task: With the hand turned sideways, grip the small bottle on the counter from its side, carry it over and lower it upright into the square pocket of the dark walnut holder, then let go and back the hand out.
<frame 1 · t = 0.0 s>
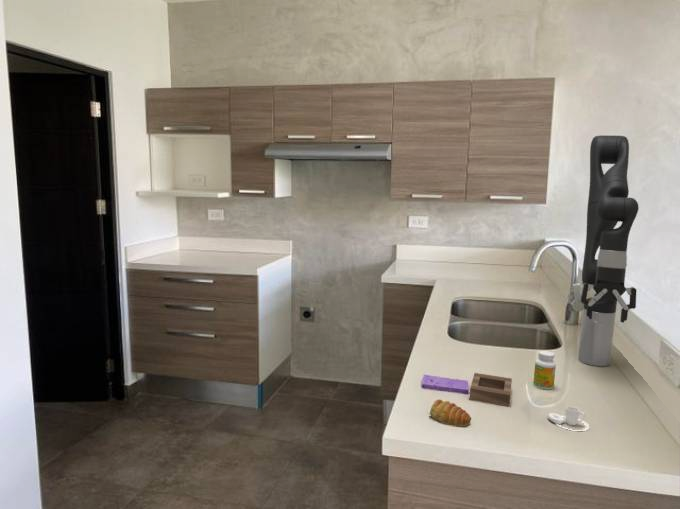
hand: (605, 320, 151), 17 cm above the worktop, tool pointing down, fingers open, 8 cm apart
teacup and saucer: (562, 420, 126), on the worktop
bottle holder: (490, 393, 138), on the worktop
supplement bottle: (543, 386, 145), on the worktop
pastry: (448, 419, 123), on the worktop
sponges: (445, 388, 142), on the worktop
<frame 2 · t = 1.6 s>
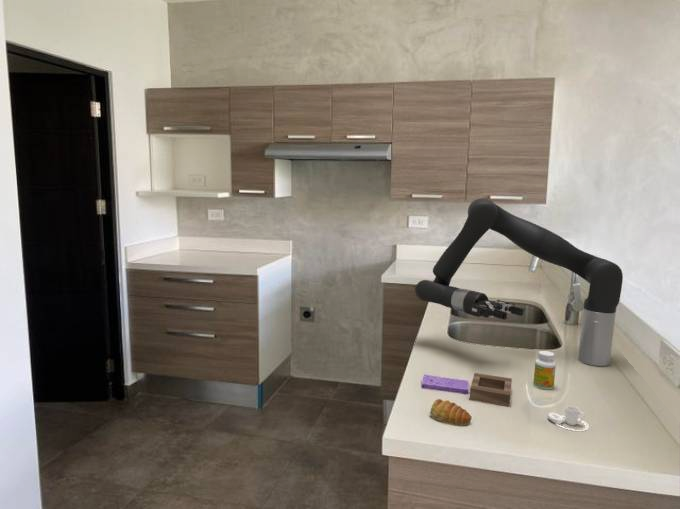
hand: (514, 314, 150), 18 cm above the worktop, tool horizontal, fingers open, 8 cm apart
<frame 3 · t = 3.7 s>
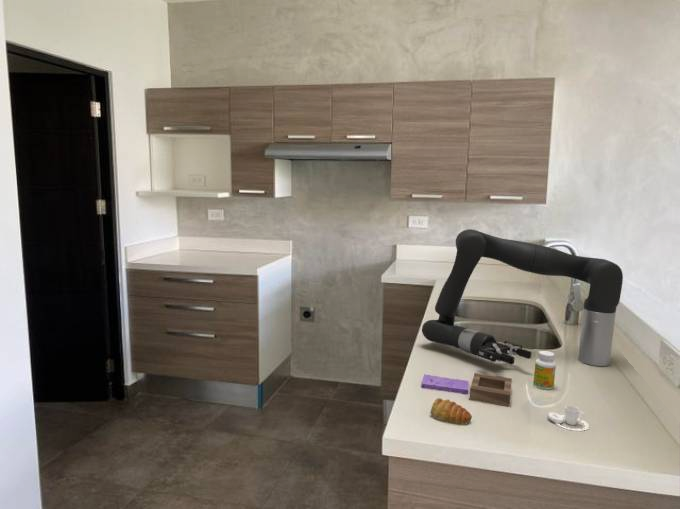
hand: (522, 358, 149), 6 cm above the worktop, tool horizontal, fingers open, 8 cm apart
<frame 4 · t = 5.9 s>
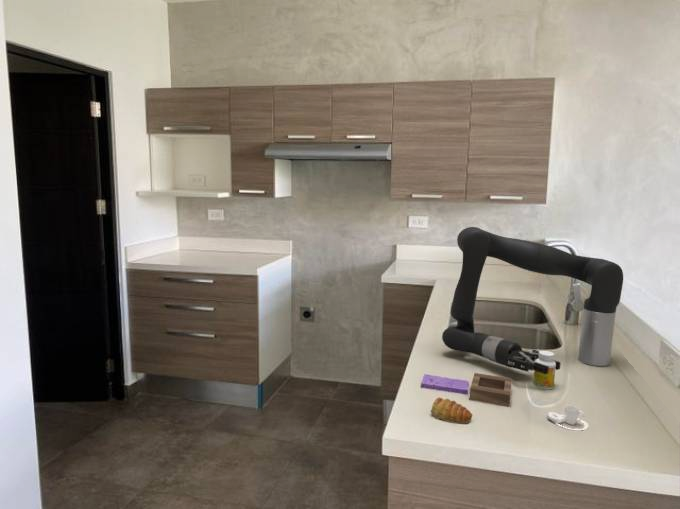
hand: (553, 368, 142), 6 cm above the worktop, tool horizontal, fingers closed on supplement bottle, 5 cm apart
supplement bottle: (543, 386, 145), on the worktop, touching gripper
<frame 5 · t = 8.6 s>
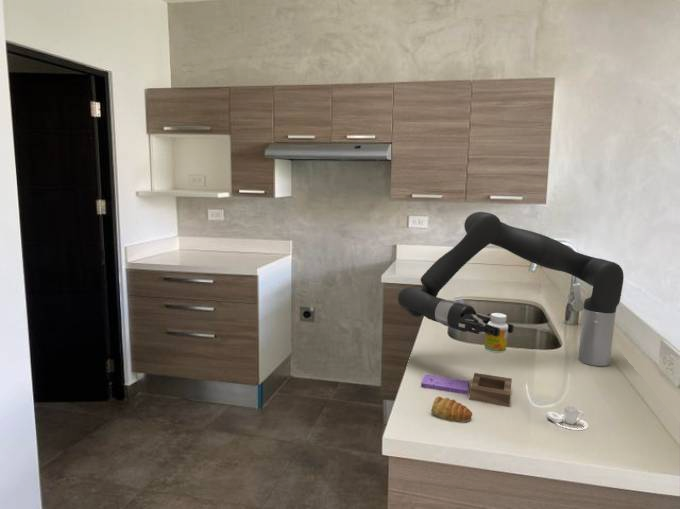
hand: (505, 330, 134), 18 cm above the worktop, tool horizontal, fingers closed on supplement bottle, 5 cm apart
supplement bottle: (495, 350, 137), point 12 cm above the worktop, touching gripper
when the fingers open (8 cm above the worktop, at t = 11.6 s): supplement bottle drops 2 cm, resting in bottle holder.
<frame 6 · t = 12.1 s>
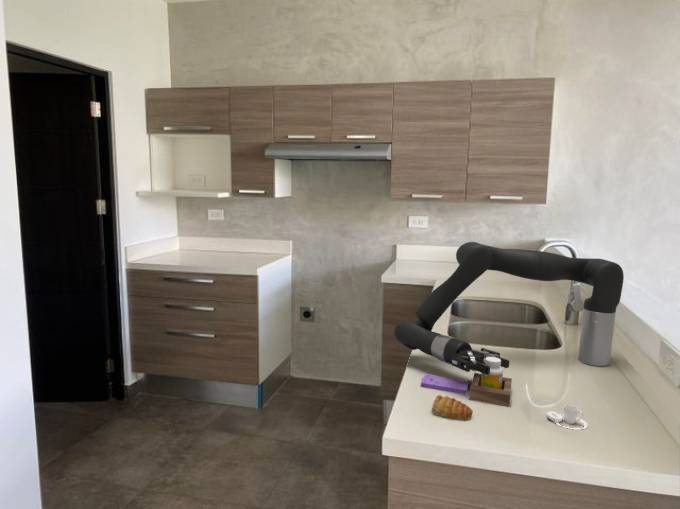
hand: (499, 367, 135), 8 cm above the worktop, tool horizontal, fingers open, 8 cm apart
supplement bottle: (490, 394, 138), resting in bottle holder
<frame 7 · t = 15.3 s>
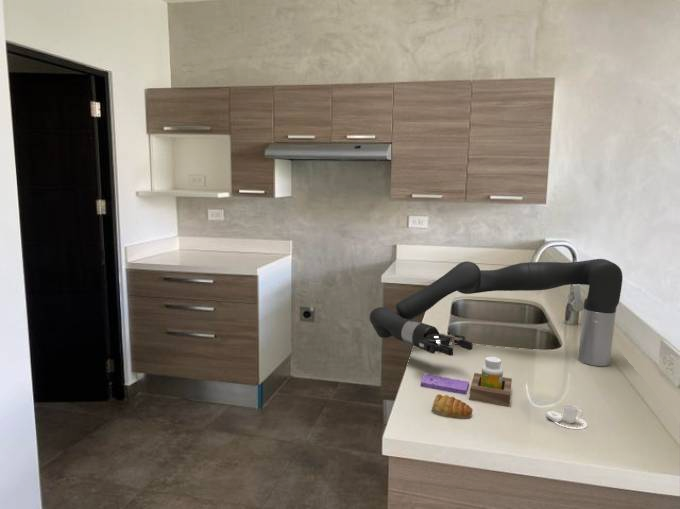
hand: (462, 349, 145), 9 cm above the worktop, tool horizontal, fingers open, 8 cm apart
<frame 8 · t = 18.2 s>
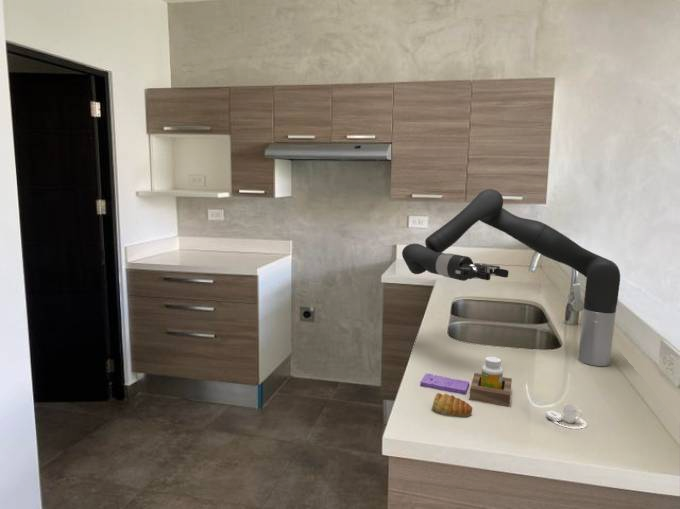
hand: (498, 275, 147), 30 cm above the worktop, tool horizontal, fingers open, 8 cm apart
at the end: supplement bottle 0.1 cm off-centre on the bottle holder, point 0.0 cm above the bottle holder's base; supplement bottle tilted 0°; the gripper is holding nothing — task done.
